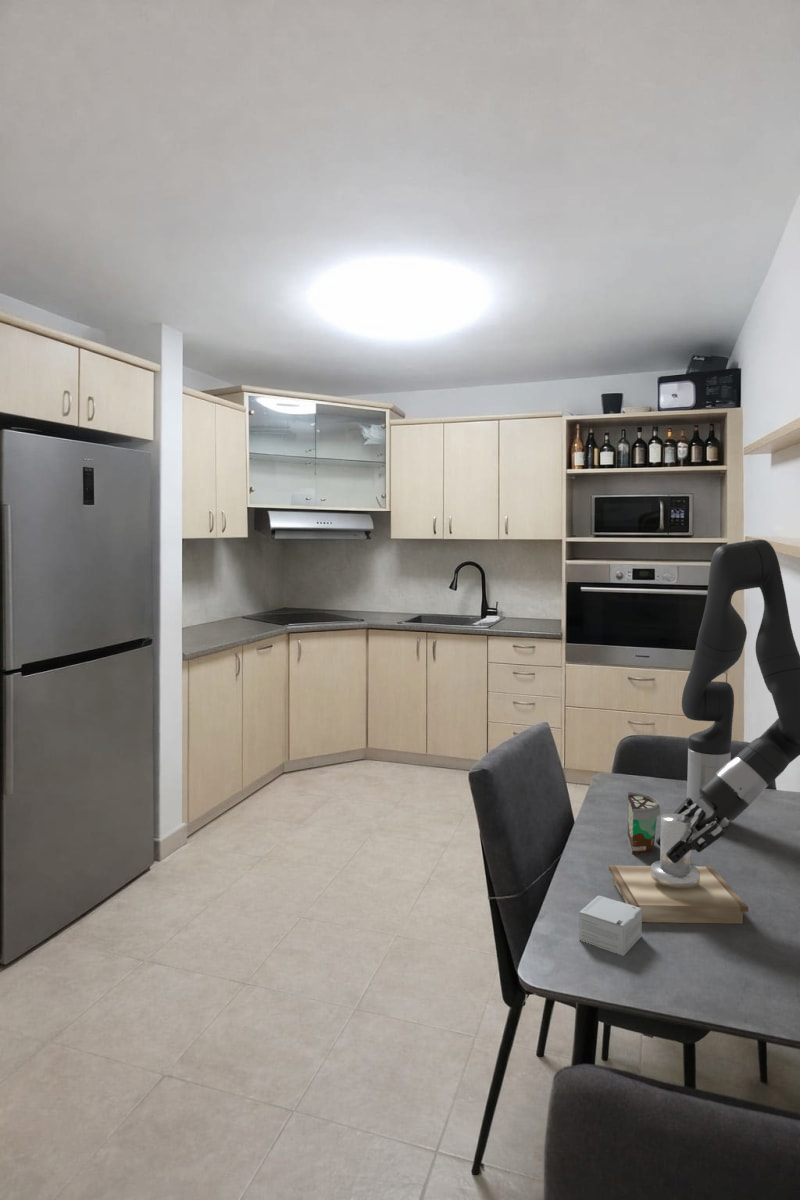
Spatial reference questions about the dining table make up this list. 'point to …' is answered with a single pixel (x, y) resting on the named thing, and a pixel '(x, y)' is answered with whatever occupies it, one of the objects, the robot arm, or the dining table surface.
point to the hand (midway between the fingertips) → (665, 852)
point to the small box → (610, 924)
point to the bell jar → (665, 869)
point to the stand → (679, 897)
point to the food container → (642, 822)
